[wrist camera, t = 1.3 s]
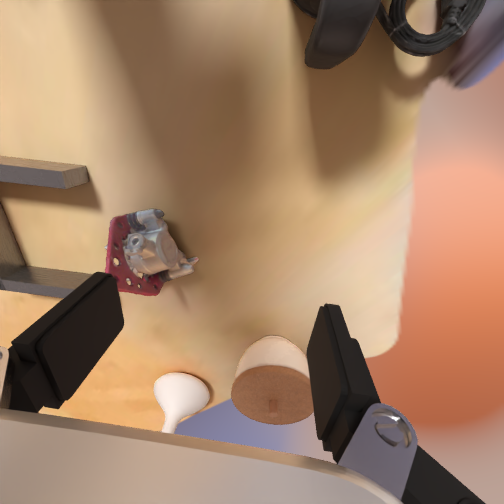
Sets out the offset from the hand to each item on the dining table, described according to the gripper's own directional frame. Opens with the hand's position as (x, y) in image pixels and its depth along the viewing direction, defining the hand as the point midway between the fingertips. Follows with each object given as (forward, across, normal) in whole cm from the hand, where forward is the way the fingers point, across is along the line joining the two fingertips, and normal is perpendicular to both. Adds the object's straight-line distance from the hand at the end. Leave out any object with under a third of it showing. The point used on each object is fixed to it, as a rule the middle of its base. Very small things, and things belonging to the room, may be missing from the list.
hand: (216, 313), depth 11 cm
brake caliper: (+23, +13, +9) cm, 28 cm away
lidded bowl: (+23, -7, +28) cm, 36 cm away
